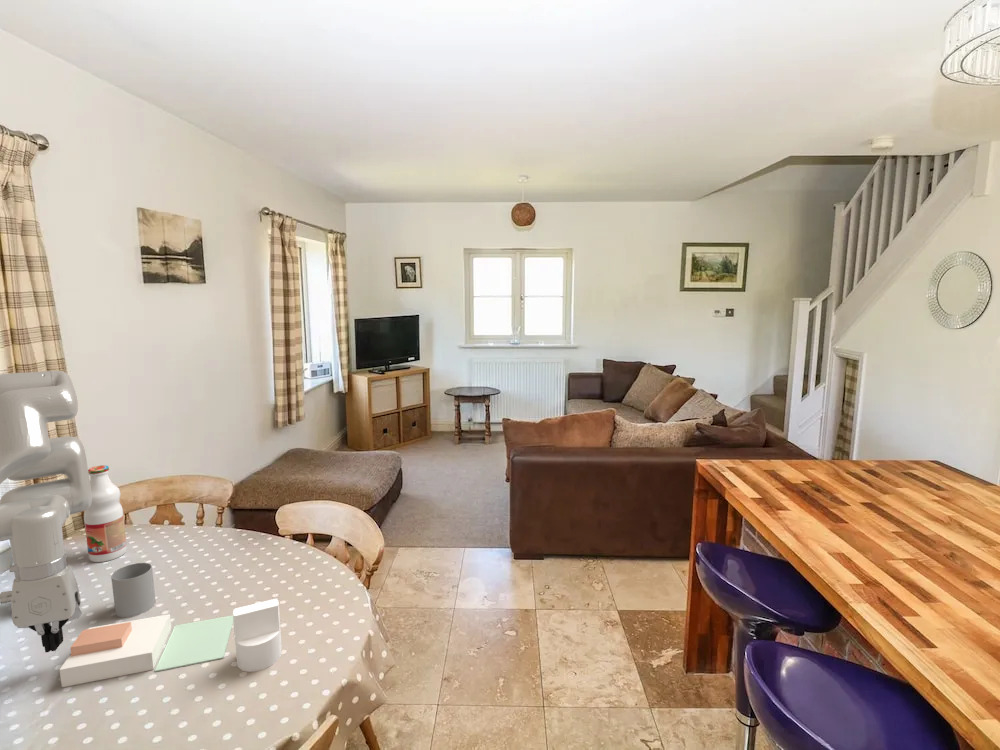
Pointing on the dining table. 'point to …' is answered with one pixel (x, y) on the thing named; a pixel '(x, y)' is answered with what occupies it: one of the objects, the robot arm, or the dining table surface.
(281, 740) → the dining table surface
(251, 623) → the cylinder with rectangular tab
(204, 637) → the mat
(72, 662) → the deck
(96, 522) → the fruit juice
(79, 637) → the tile
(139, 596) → the cup
